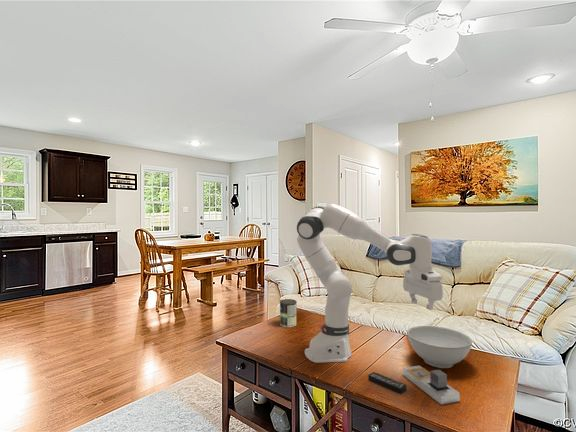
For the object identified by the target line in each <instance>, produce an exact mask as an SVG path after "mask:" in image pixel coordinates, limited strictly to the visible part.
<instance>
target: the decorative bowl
mask: <svg viewBox="0 0 576 432" xmlns="http://www.w3.org/2000/svg"><path fill="white" fill-rule="evenodd" d="M406 333H407V334H406V335H407V338H408V341H409V343H410V345H411V347H412V349H413V350H414V351H415V353H416V354H417V355H418V356H419V357H420V358H421V359H423V361H424V363H425V364H427V365H428V366H429V365H430V366H432V367H434V368H438V369H449V368H452V367H454V365H456V364H458V363H460V362H461V361H463V360H464V359H465V358H466V356H467V355H468V354H469V352H470V350H471V349H472V345H473V340H472V338H471V337H470V336H468V335H467V334H465V333H464V332H461V331H458V330H455V329H452V328H448V327H443V326H439V325H438V326H437V325H417V326H413V327H410V328H409V329H408V330H407V332H406Z"/></svg>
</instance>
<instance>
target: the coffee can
mask: <svg viewBox="0 0 576 432" xmlns="http://www.w3.org/2000/svg"><path fill="white" fill-rule="evenodd" d="M297 302H298V301H297V300H295V299H292V298H289V299H288V298H287V299H286V298H285V299H281V300H280V301H279V325H280V327H284V328H291V327H295V326H297Z"/></svg>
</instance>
